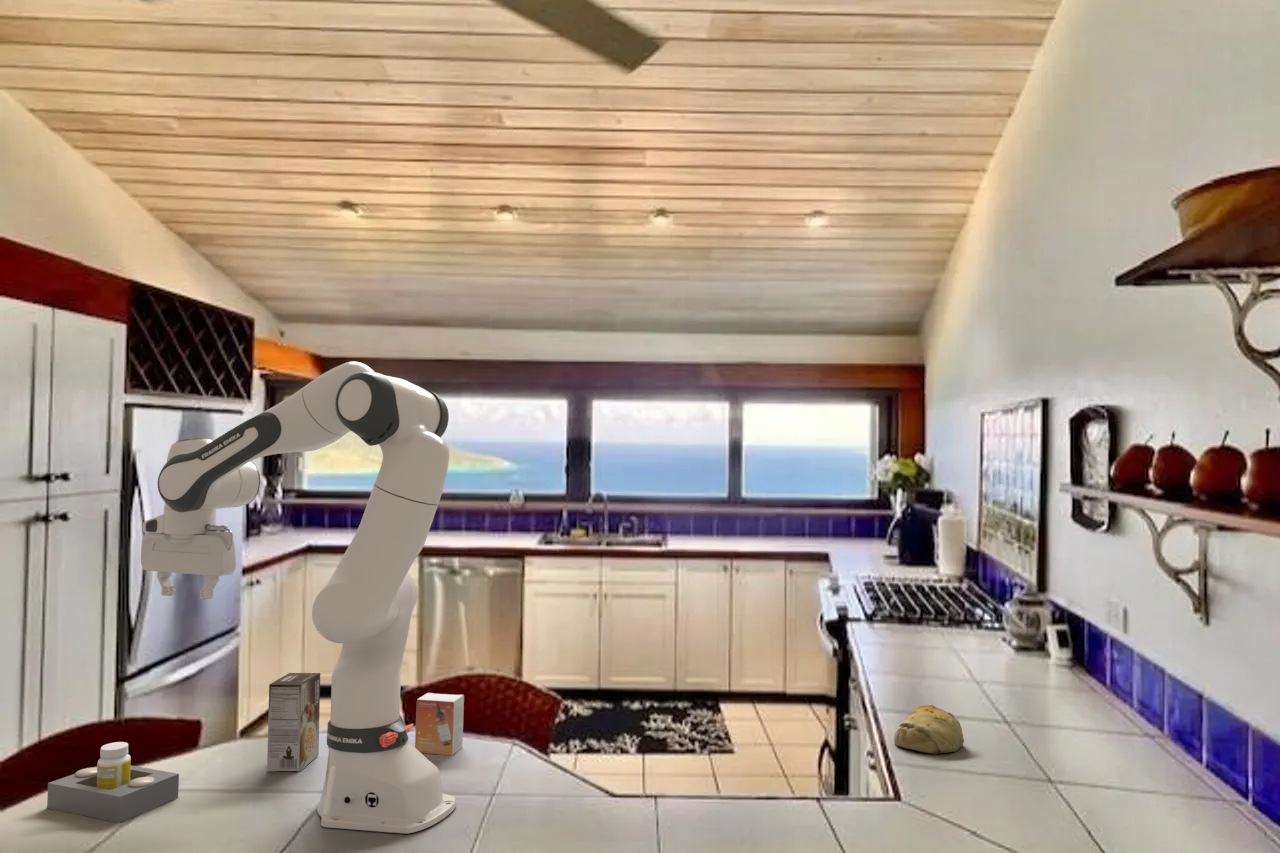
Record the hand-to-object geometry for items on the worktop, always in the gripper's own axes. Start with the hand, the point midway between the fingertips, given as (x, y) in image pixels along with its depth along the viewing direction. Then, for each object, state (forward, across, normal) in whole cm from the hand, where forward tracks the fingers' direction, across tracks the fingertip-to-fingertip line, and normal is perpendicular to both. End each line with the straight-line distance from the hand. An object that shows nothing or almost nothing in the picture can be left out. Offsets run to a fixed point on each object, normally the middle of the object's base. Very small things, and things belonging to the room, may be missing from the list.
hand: (186, 597), depth 164 cm
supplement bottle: (+30, -5, +18) cm, 36 cm away
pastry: (+31, -132, -65) cm, 150 cm away
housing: (+31, -5, +18) cm, 36 cm away
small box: (+31, -40, -25) cm, 57 cm away
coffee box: (+31, -19, -8) cm, 38 cm away
